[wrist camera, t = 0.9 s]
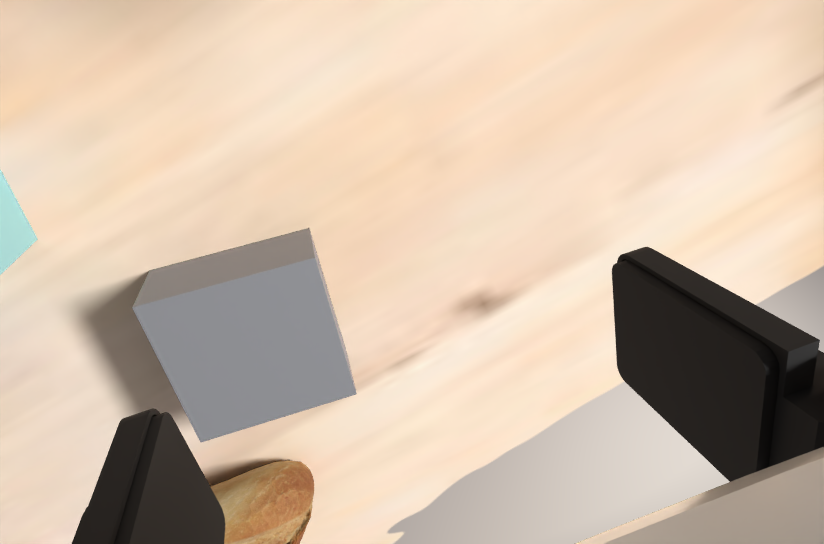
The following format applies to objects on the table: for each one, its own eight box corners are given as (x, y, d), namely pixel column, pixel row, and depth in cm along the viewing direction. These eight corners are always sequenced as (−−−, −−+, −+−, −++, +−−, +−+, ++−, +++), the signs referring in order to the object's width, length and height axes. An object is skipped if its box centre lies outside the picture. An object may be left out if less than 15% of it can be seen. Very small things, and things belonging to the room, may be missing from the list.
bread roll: (332, 490, 53) (343, 563, 46) (193, 558, 52) (181, 642, 45) (287, 425, 48) (291, 495, 41) (133, 499, 48) (110, 582, 41)
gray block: (150, 269, 40) (131, 307, 34) (309, 226, 41) (315, 257, 36) (208, 392, 45) (200, 442, 40) (346, 351, 47) (356, 394, 41)
